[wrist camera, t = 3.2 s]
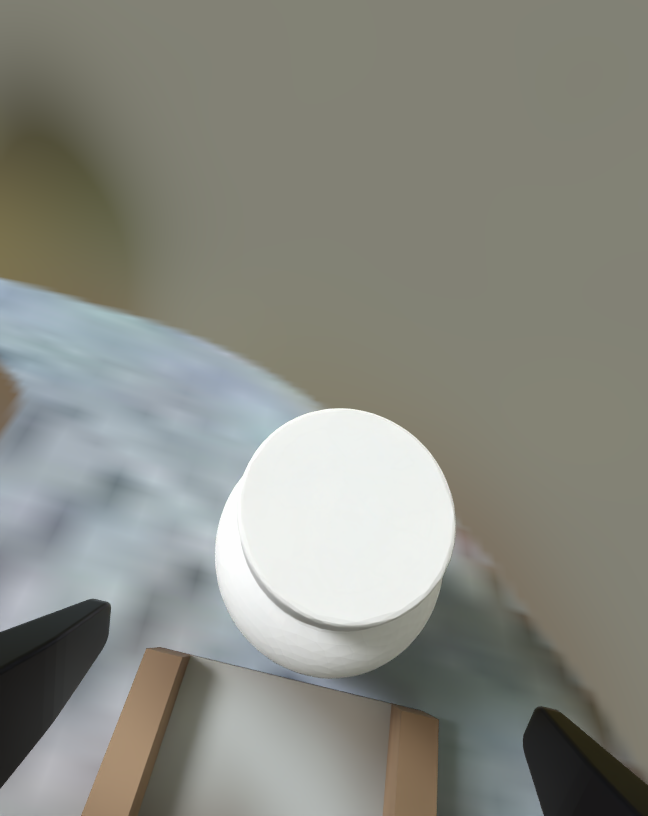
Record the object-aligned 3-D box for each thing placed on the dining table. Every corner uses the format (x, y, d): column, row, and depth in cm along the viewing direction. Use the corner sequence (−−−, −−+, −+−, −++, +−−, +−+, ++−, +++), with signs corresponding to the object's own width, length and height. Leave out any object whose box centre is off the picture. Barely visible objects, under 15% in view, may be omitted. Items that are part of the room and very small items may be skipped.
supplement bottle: (380, 526, 20) (493, 400, 9) (370, 671, 17) (532, 737, 6) (262, 504, 20) (239, 353, 9) (226, 644, 17) (125, 660, 6)
